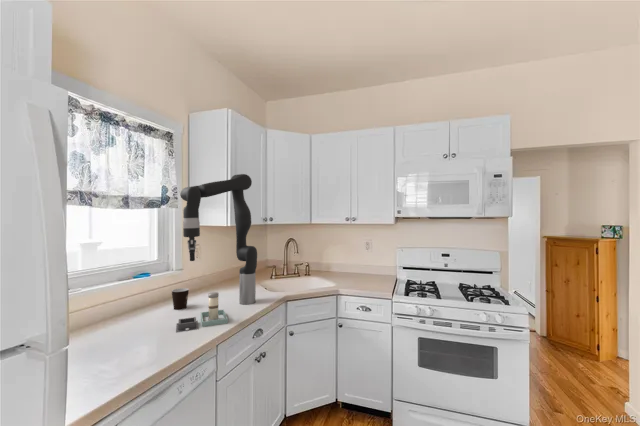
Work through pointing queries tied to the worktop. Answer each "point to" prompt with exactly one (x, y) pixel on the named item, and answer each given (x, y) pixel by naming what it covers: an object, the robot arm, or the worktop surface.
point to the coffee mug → (180, 298)
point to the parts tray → (214, 322)
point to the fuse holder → (187, 324)
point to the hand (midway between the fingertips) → (192, 259)
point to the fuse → (213, 306)
